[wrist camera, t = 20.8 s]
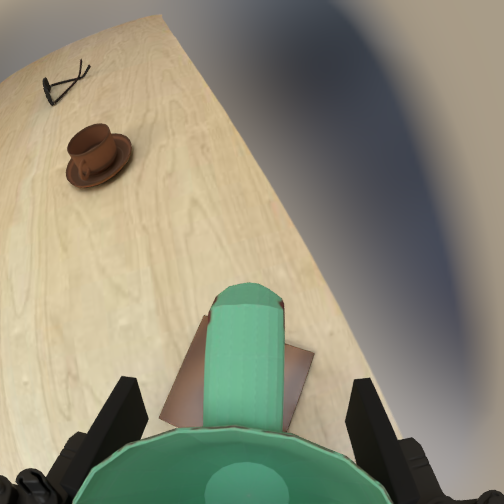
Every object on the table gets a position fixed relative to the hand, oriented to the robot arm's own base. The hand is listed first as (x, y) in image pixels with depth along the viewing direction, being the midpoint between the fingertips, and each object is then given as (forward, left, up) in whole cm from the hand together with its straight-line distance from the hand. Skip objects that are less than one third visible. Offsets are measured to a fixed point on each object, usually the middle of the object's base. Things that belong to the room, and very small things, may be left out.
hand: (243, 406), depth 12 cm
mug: (-1, +3, -4) cm, 5 cm away
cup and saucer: (+35, -23, -17) cm, 46 cm away
